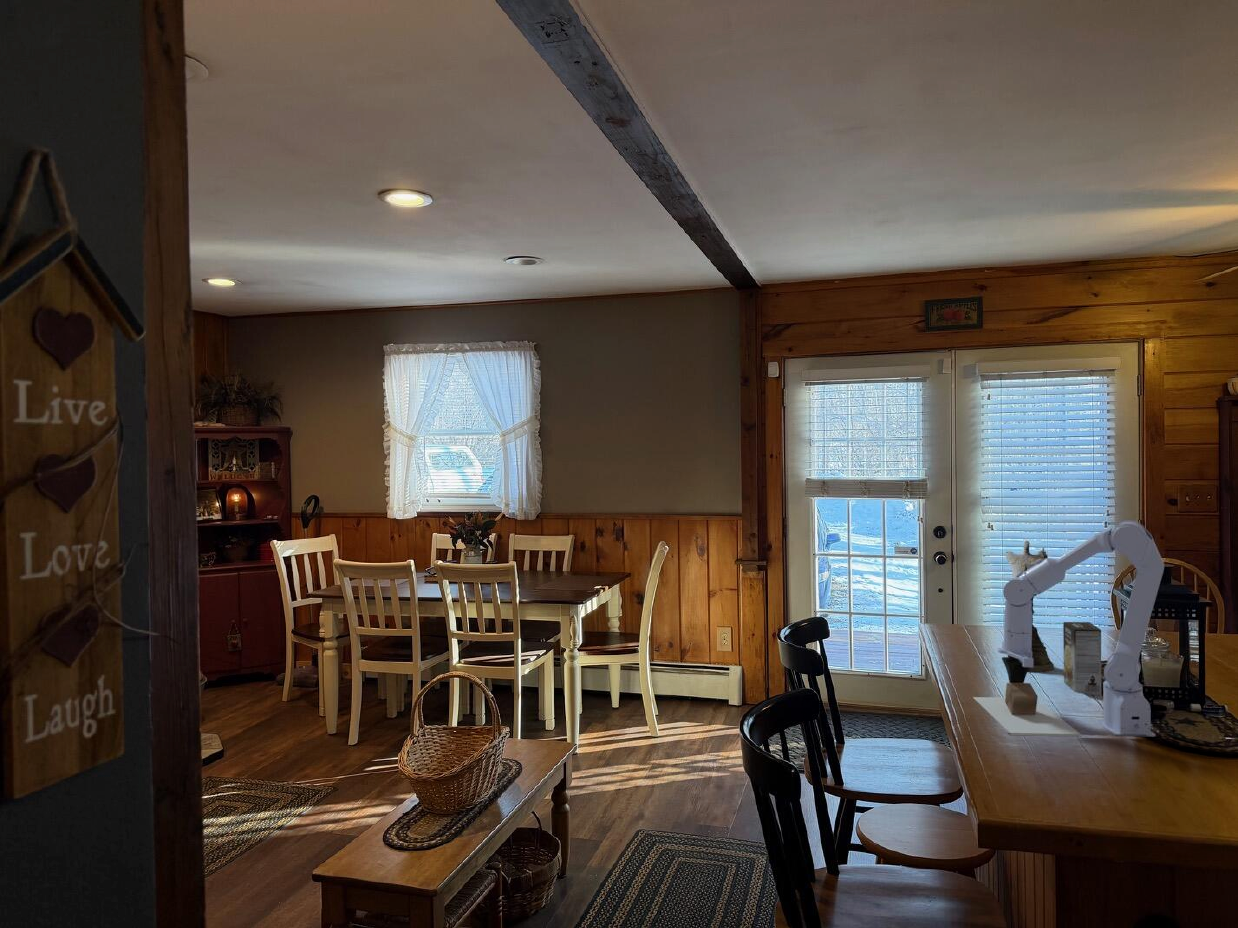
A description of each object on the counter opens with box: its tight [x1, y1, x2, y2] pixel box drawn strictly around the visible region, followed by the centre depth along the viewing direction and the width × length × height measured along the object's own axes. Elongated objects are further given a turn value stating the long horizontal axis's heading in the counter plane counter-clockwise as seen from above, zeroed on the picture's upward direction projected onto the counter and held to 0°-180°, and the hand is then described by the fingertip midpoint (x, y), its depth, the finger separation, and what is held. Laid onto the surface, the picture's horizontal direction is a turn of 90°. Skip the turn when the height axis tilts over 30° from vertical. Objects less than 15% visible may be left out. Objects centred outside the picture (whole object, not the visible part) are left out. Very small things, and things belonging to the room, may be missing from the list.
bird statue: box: [1004, 540, 1062, 673], centre depth 230 cm, size 17×13×35 cm
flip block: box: [1004, 682, 1038, 715], centre depth 191 cm, size 5×5×5 cm
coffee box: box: [1062, 621, 1102, 696], centre depth 210 cm, size 9×6×16 cm
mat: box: [972, 696, 1082, 738], centre depth 190 cm, size 26×14×1 cm, turn 173°
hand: (1016, 690), depth 193 cm, fingers closed, pressing on flip block
